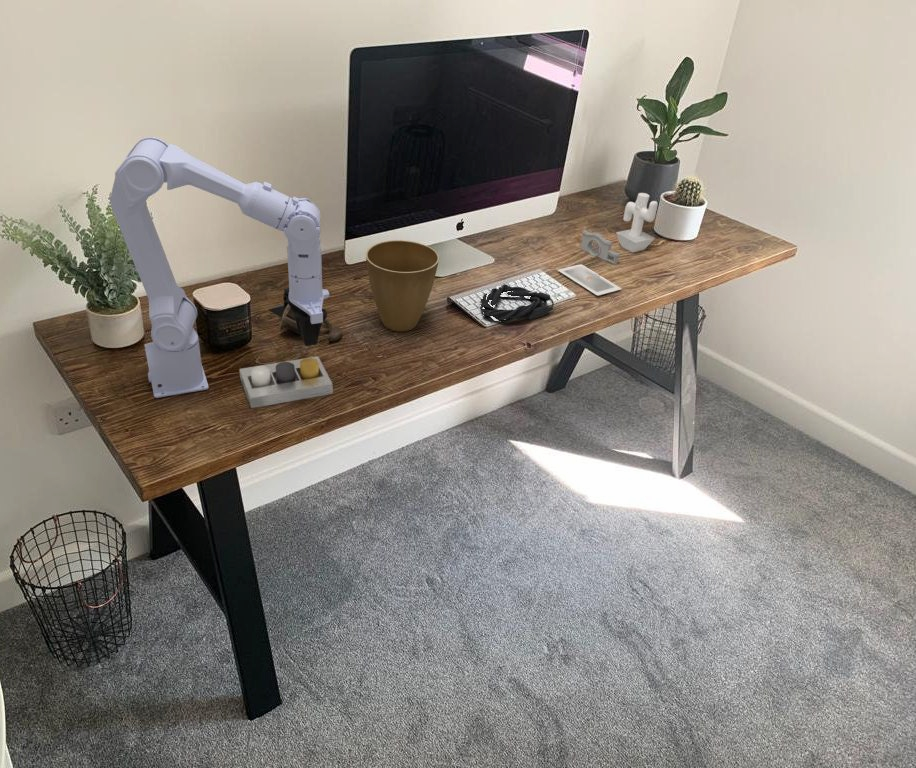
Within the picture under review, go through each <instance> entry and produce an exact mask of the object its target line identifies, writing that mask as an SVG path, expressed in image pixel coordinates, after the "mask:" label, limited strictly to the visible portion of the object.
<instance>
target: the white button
mask: <svg viewBox="0 0 916 768" xmlns="http://www.w3.org/2000/svg"><path fill="white" fill-rule="evenodd" d="M256 366H257V367H255V366H253V367H254V368H252V370H251V379H252V386H251V387H252V389H253V388H259V387H265V386H270V385H272V384H271V377H270V369H269V368H268V367H266V366H261V365H256Z"/></svg>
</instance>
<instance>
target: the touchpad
mask: <svg viewBox="0 0 916 768" xmlns="http://www.w3.org/2000/svg"><path fill="white" fill-rule="evenodd" d="M557 271H558V272H560V273H561V274H562V275H564V276H565V277H567V278H569V279H570V280H572V281H573V282H575V283H577V284H578V285H579V286H582V287H583V288H585V289H586V290H588V291H589V292H591V293H593V294H594V295H596V296H602V295H605V294H610V293H613V292H616V291H620V290H622V287H620V286H619V285H617V284H615V283H613V282H611V281H610V280H608V278H607V279H606V278H605V277H603V276H601V275H600V274H598V273H597V272H595V271H594V270H592V269H590V268H588V267H587V266H585V265H584V264H582V263H580V264H576V265H572V266H571V265H570V266H568V267H564V268H559V269H557Z"/></svg>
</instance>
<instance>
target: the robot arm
mask: <svg viewBox="0 0 916 768" xmlns="http://www.w3.org/2000/svg"><path fill="white" fill-rule="evenodd" d="M164 183H166V184H167V185H166V189H167V191H171V190H174V189H178V188H181V187H185V186H191V187H194V188H198V189H200V190H202V191H205V192H207V193H210V194H211V195H214V196H218V197H220V198H222V199H225V200H228V201H230V202H233V203H235V204H237V205H238V207H239V209H240V211H241V213H242V215H244V216H247V217H248V218H251V219H253V220H254V221H255V220H256V221H258V222H260V223H262V224H264V225H267V226H269V227H271V228H273V229H276V230H278V231H280V232H283V233H284V236H285V238H286V239H287V246H286V253H287V268H288V269H287V270H288V288H289V295H288V296H289V298H287V302H288V304H289V306H290V307H291V309H292V311H293V314H294V317H295V320H296V324H297V328H298V331H299V334H298V335H299V336H300V337H302V340H303V343H304V345H305V346H306V347H308V346H315V345H317V344H318V340H319V336H320V334H319V332H320V330H322V329H321V327H322V326H323V324H324V323H323V322H324V320H325V319H326V320H327V317H328V312H327V310H326V309H325V308H323V307H324V306H323V305H324V300H325V299H327V298H329V297H330V292H329V290H328V289H326V288H325V289H324V288H323V269H322V268H323V266H322V265H323V263H322V261H323V260H322V247H321V246H322V245H321V236H320V235H321V221H322V215H321V211H320V209H319V207H318V205H317V204H316V203H314V202H313V201H311V200H310V199H309V198H306V197H304V198H303V197H301V198H298V197H296V196H292V197H291V196H288V195H287V194H285V193H283V192H280V191H278V190H276V189H273V188H272V186H273V184H272V183H269V182H267V181H264V182H263V183H260V182H258V181H253V182H249V183H244V182H241V181H240V180H238V179H236V178H234V177H232V176H230V175H228V174H227V173H225V172H223V171H221V170H219V169H217V168H215V167H213V166H212V165H210V164H208V163H206V162H204V161H202V160H200V159H198V158H197V157H194V156H193V155H191V154H190V153H188V152H186V151H185V150H183V149H182V148H181V147H180V146H177V145H175V144H172V143H169V144H168V143H167V142H165V140H162V139H161V138H160V137H159V138H158V137H153V136H147V137H142V138H141V139H140V140H139V141H137V142H136V143H135V145H133V147H132V149H131V150H130V151H129V152H128V154H127V155H126V157H125V159H124V160H123V161H122V163H121V164H120V166H119V167H118V168H117V169H116V170H115V173H114V181H113V185H112V189H111V193H110V195H109V196H110V197H109V204H110V207H111V210H112V213H113V216H114V218H115V220H116V222H117V224H118V228H119V230H120V232H121V235H122V238H123V240H124V241H125V244H126V247H127V249H128V252H129V254H130V257H131V259H132V261H133V264H134V266H135V269H136V272H137V274H138V276H139V279H140V281H141V284H142V286H143V289H144V291H145V294H146V296H147V299H148V316H149V317H148V318H149V321H150V323H151V330H150V331H151V332H150V336H151V339H152V341H151V342H148V343H144V349H145V356H146V362H147V365H148V366H147V367H148V368H147V369H148V372H147V378H148V382H149V383H151V388H152V392H153V397H154V399H155V398H156V399H159V398H164V397H169V396H177V395H181V394H182V395H183V394H188V393H193V392H200V391H205V390H206V391H207V390H209V388H210V387H209V384H208V380H207V377H206V374H205V370H204V367H203V365H202V357H201V349H200V341H199V335H198V333H197V331H196V330H195V328H194V323H195V322H196V320H197V318H198V309H197V307H196V306H195V304H194V303H193V301H191V300H190V299H189V298H188V297H187V294H186V293H185V290H184V289H183V288H182V287H180V286H179V285H178V283H177V282H176V279H175V277H174V273H173V271H172V269H171V264H170V263H169V260H168V258H167V255H166V253H165V249H164V247H163V245H162V242H161V239H160V237H159V233H158V232H157V228H156V226H155V223H154V220H153V218H152V215H151V212H150V210H149V208H148V206H147V200H148V199H149V198H150V197H151V196H153V195H155V194H156V193H157V192H158V191H160V189H161V188H162V186H163V185H164Z"/></svg>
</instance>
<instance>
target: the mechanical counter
mask: <svg viewBox="0 0 916 768" xmlns="http://www.w3.org/2000/svg"><path fill="white" fill-rule="evenodd" d="M323 324H324V325H325V326H326V327H327V329H320V332H319V335H320V336H321V335H327V339H328V341H330V342H336V341H338V340H339V339H341V337H342V335H343V330H342V329H341V327H339V326H336V327H334V328H333V326H332V323H331V322H330V321H329V320H327V318H326V319H325V320H324V322H323ZM284 329H288V330H290V331H292V332H295V334H298V335H300V334H299V331H298V328H297V324H296V320H295V317H294V314H293V311H292V309H291V307H290V306H289V304H287V306H286V308H285V310H284V311H283V314H282V318H281V322H280V324H279V328H278V331H279V332H280V331H281V332H282V331H283V330H284Z"/></svg>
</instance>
